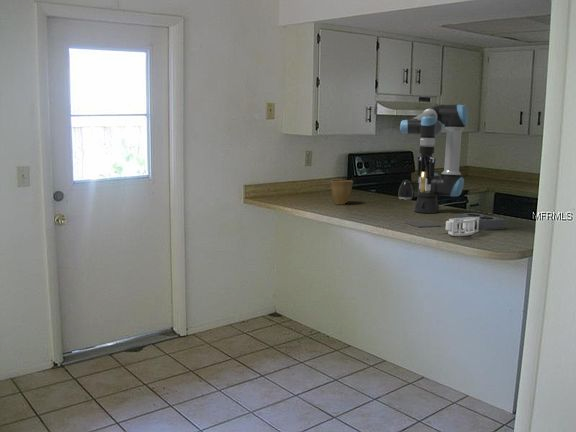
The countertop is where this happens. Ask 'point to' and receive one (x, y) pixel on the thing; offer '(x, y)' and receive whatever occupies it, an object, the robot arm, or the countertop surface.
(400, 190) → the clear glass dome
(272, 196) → the countertop surface
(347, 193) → the plant pot
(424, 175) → the bushing
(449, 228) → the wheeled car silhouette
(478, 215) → the block
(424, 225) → the mat
